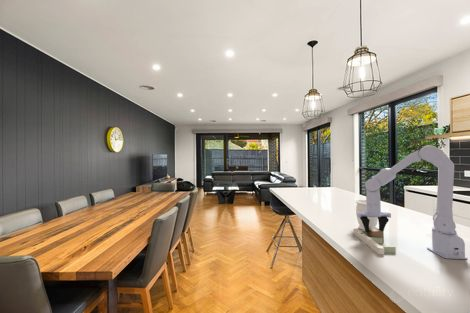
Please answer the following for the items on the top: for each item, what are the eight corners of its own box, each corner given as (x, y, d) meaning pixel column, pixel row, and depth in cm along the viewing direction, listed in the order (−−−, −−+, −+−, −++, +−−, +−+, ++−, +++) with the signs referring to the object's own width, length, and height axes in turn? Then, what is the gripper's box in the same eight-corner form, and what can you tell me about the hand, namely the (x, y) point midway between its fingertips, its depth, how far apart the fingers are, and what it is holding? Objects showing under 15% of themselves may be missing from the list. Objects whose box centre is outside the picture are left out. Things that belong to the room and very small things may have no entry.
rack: (398, 255, 87) (398, 247, 87) (379, 254, 88) (378, 247, 88) (368, 233, 111) (368, 228, 111) (353, 233, 112) (353, 227, 112)
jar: (367, 233, 112) (366, 204, 112) (352, 227, 122) (351, 200, 122) (383, 230, 115) (382, 202, 115) (367, 225, 125) (366, 199, 125)
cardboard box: (383, 242, 100) (383, 231, 100) (373, 242, 100) (373, 231, 100) (376, 237, 106) (375, 226, 107) (366, 237, 107) (366, 226, 107)
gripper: (384, 202, 107) (385, 229, 107) (353, 202, 109) (354, 229, 109) (393, 205, 100) (394, 234, 100) (360, 205, 102) (361, 234, 102)
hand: (374, 232), depth 104 cm, fingers open, 6 cm apart
